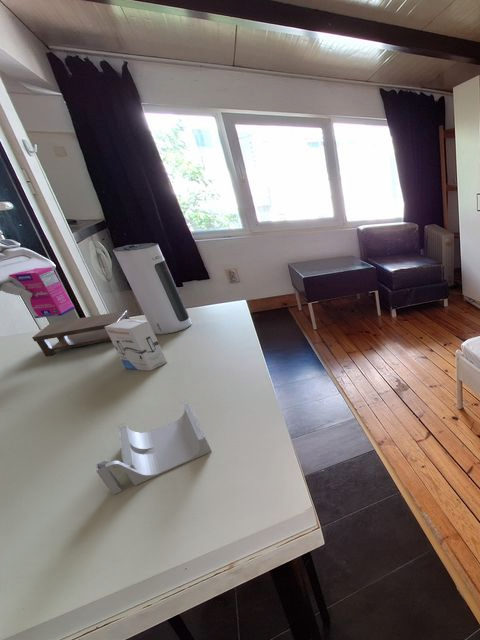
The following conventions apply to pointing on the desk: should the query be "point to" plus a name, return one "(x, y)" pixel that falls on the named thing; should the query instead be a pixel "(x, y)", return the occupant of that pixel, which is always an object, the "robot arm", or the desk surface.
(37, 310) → the supplement box
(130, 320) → the ink box
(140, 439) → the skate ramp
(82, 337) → the rack
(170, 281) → the speaker
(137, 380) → the desk surface
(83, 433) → the desk surface
